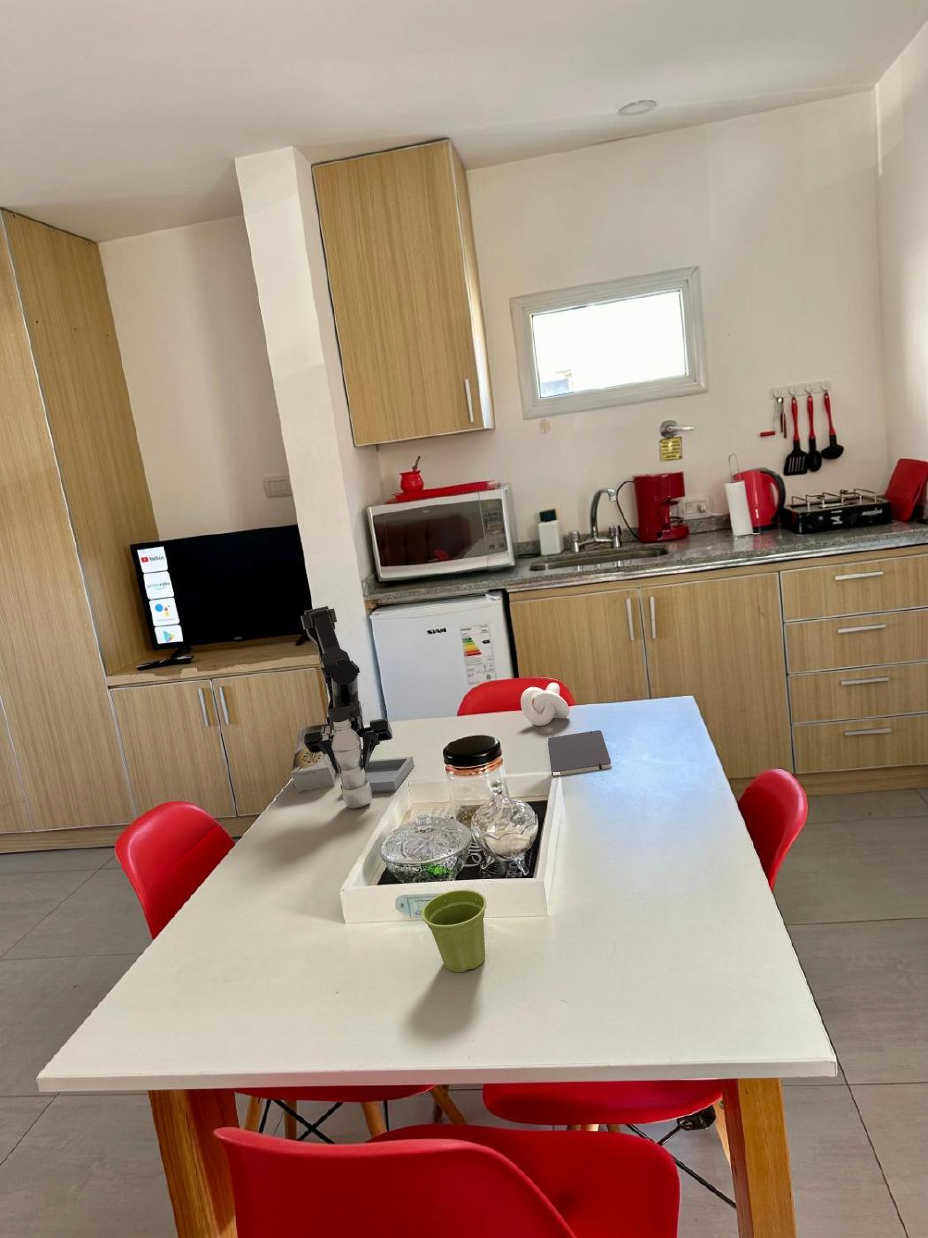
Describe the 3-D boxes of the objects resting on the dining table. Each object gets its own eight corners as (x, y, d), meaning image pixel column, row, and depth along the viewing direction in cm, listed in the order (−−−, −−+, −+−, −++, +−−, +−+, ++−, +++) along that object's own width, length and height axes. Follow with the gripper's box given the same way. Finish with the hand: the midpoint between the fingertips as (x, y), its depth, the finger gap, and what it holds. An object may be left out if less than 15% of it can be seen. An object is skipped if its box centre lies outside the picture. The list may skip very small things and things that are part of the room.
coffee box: (335, 787, 202) (340, 740, 215) (328, 767, 198) (334, 721, 211) (297, 792, 202) (305, 746, 216) (289, 773, 199) (298, 727, 212)
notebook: (548, 744, 205) (553, 778, 184) (547, 737, 205) (552, 772, 184) (601, 735, 204) (612, 770, 183) (600, 729, 204) (611, 763, 183)
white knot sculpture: (582, 714, 220) (577, 681, 218) (554, 731, 211) (548, 697, 210) (547, 710, 228) (542, 678, 226) (519, 726, 219) (513, 693, 218)
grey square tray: (364, 770, 208) (362, 760, 208) (414, 766, 205) (412, 756, 204) (342, 795, 195) (340, 785, 195) (396, 791, 192) (393, 781, 191)
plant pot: (475, 986, 118) (464, 930, 117) (420, 974, 124) (408, 920, 122) (508, 947, 126) (498, 894, 124) (454, 937, 131) (444, 886, 129)
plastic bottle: (379, 798, 190) (361, 713, 186) (366, 812, 184) (347, 724, 180) (353, 798, 192) (335, 714, 188) (339, 812, 186) (320, 725, 182)
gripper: (296, 698, 187) (298, 764, 178) (380, 683, 187) (386, 748, 178) (309, 720, 196) (312, 784, 188) (389, 706, 196) (396, 769, 187)
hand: (350, 771), depth 185 cm, fingers closed on plastic bottle, 6 cm apart
